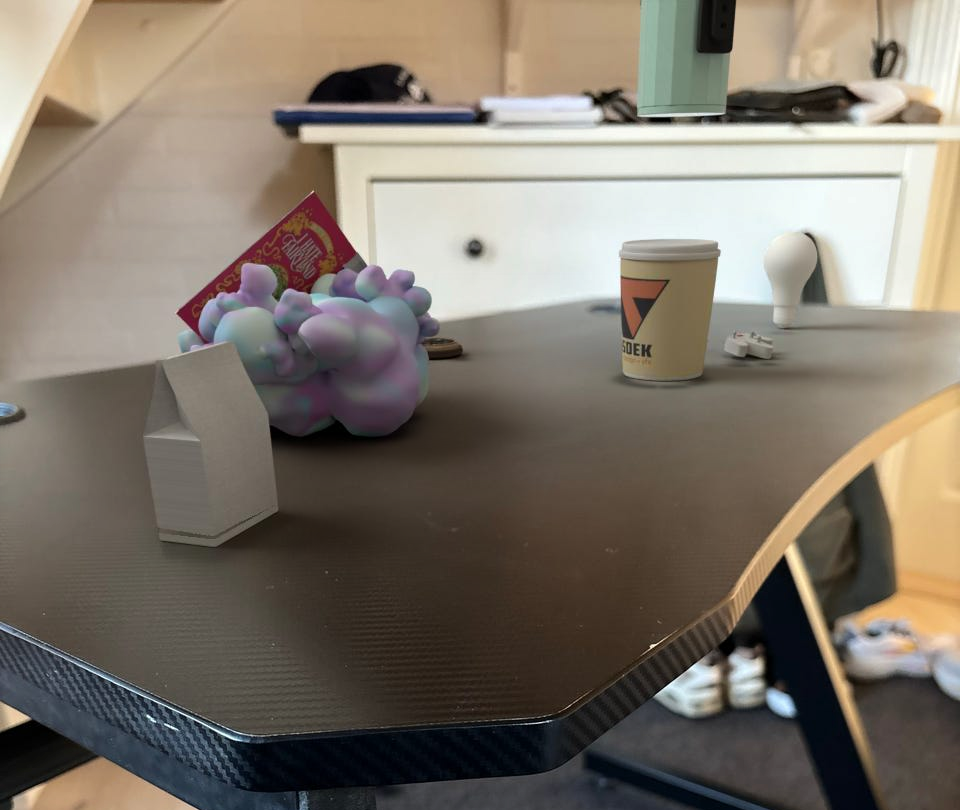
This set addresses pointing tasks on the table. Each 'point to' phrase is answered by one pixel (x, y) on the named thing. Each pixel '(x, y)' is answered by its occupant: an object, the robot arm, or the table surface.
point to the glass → (677, 64)
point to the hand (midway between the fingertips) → (684, 56)
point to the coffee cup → (666, 306)
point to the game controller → (749, 345)
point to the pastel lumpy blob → (318, 328)
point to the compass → (441, 347)
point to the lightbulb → (789, 273)
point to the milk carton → (208, 446)
